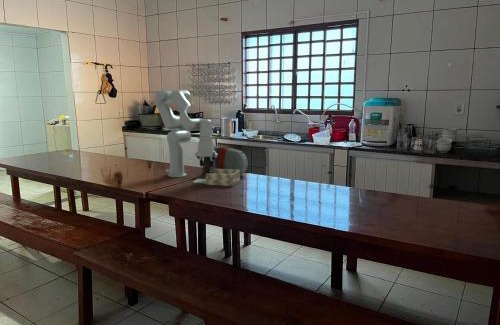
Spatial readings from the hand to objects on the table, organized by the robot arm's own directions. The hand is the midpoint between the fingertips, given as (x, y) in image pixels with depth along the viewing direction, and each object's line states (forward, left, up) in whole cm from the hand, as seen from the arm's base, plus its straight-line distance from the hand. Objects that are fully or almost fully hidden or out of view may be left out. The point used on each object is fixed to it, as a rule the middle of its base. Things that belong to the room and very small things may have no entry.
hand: (206, 166), depth 233 cm
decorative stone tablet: (+7, +22, -10) cm, 26 cm away
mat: (-4, 0, -10) cm, 11 cm away
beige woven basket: (+11, 0, -10) cm, 15 cm away
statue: (0, 0, -7) cm, 7 cm away
